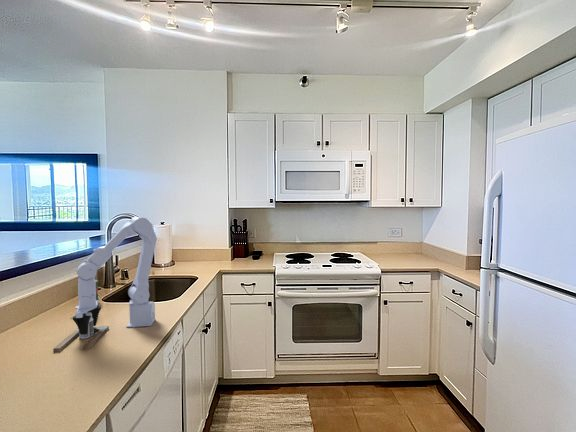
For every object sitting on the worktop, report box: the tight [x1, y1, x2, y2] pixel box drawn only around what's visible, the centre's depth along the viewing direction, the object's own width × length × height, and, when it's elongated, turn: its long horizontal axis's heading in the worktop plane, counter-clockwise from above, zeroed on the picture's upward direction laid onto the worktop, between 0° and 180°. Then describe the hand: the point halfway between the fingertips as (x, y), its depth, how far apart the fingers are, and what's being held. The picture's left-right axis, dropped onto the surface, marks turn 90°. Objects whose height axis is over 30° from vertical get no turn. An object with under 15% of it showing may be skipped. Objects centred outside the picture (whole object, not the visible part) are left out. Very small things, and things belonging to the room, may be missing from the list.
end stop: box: [74, 325, 109, 334], centre depth 127 cm, size 11×3×1 cm, turn 99°
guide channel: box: [52, 329, 107, 353], centre depth 118 cm, size 11×15×1 cm
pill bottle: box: [78, 312, 95, 339], centre depth 123 cm, size 5×5×8 cm
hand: (88, 329), depth 124 cm, fingers open, 7 cm apart
